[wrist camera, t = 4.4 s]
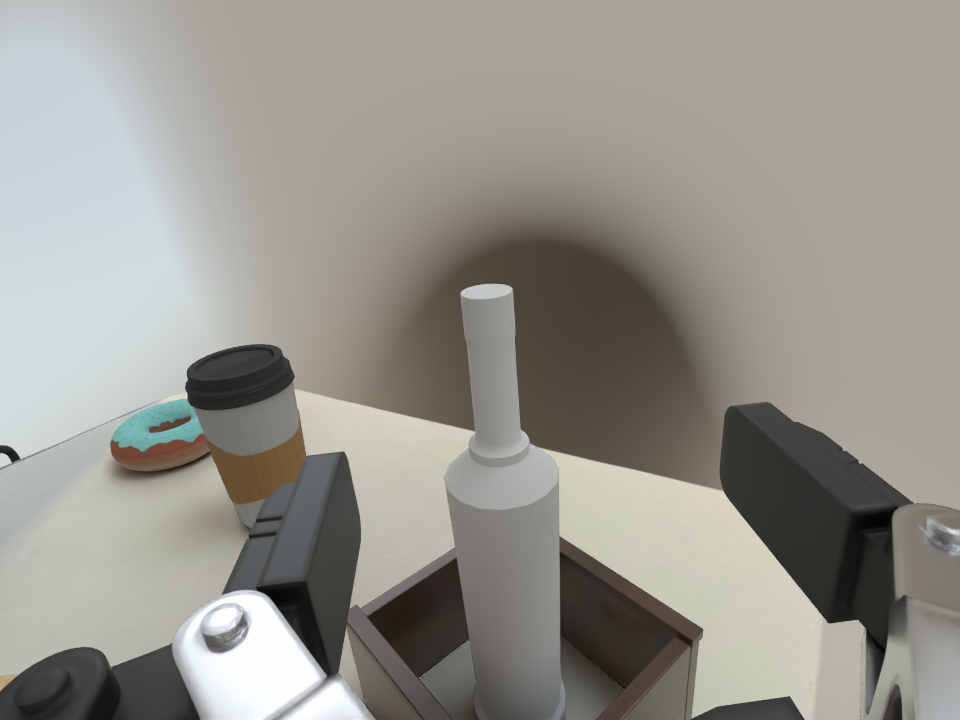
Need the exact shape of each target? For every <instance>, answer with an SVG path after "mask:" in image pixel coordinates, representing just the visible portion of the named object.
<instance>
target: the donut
mask: <svg viewBox="0 0 960 720" xmlns="http://www.w3.org/2000/svg"><path fill="white" fill-rule="evenodd" d="M205 438H206V437H205V434H204V432H203V430H202V427H201V425H200V422H199V420H198V418H197V415H196V413H195V410H194V408H193V407H192V406H191V405H190V404H189V402H188V399H180V400H175V401H171V402H167V403H163V404H160V405H157V406H154V407H151V408H149V409H146V410H144V411H142V412H140V413H138V414H136V415H134V416H133V417H131V418H130V419H128V420H127V421H125V422H124V423H123V424H122V425H121V426H119V427H118V428H117V429H116V431H115V432H114V435H113V437H112V441H111V443H110V445H111V453H112V456H113V457H114V458H115V460H116V461H117V462H118V463H120V464H121V466H123V467H125V468H127V469H130V470H135V471H160V470H165V469H170V468H174V467H178V466H181V465H184V464H187V463H189V462H191V461H194V460H196V459H198V458H200V457H202V456H203V455H205V454H207V453H208V452H209V451H210V450H209V447H208V445H207V442H206V440H205Z"/></svg>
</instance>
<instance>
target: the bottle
mask: <svg viewBox="0 0 960 720" xmlns="http://www.w3.org/2000/svg"><path fill="white" fill-rule="evenodd" d="M460 294H461V304H462V314H463V324H464V334H465V339H466V341H467V350H468V360H469V370H470V381H471V391H472V402H473V411H474V422H475V434H474V435H473V436H472V437H471V439H470V441H469V448H468V449H467V450H466V451H464V452H463V453H462V454H461V455H460V456H459V457H457V458H456V459H455V460H454V461H453V462H452V463H451V464H450V465H449V467H448V469H447V472H446V474H445V477H444V478H445V485H446V491H447V498H448V504H449V510H450V517H451V523H452V530H453V536H454V543H455V549H456V556H457V562H458V568H459V575H460V581H461V588H462V594H463V601H464V607H465V613H466V620H467V626H468V633H469V639H470V646H471V652H472V658H473V665H474V671H475V678H476V686H475V690H474V695H473V699H474V704H475V709H476V714H477V719H478V720H565V706H566V690H565V687H564V684H563V682H562V679H561V670H560V554H559V468H558V467H557V465H556V463H555V462H554V460H553V458H552V457H551V456H550V455H548V454H547V453H545V452H543V451H542V450H540V449H539V448H537V447H535V446H534V445H532V444H530V443H529V438H528V436H527V434H526V433H525V432H523V431H521V430H520V415H519V400H518V385H517V370H516V357H515V340H514V337H515V319H514V303H513V289H512V288H511V287H510V286H506V285H502V284H484V285H477V286H473V287H469V288H467V289H465V290H463V291H462V292H461V293H460Z"/></svg>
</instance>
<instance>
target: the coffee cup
mask: <svg viewBox="0 0 960 720" xmlns="http://www.w3.org/2000/svg"><path fill="white" fill-rule="evenodd" d="M187 378H188V381H187V382H186V386H185V389H186V392H187V393H188V402H189V404H190V405H191V406H192V407H193V408H194V410H195V413H196V415H197V418H198V420H199V422H200V425H201V427H202V430H203V432H204V434H205V437H206V438H205V440H206V442H207V445H208V447H209V450H210V452H211V454H212V457H213V459H214V461H215V464H216V466H217V469H218V471H219V473H220V476H221V478H222V480H223V483H224V485H225V488H226V490H227V492H228V495H229V497H230V499H231V500H232V502H233V504H234V506H235V509H236V511H237V514H238V516H239V518H240V520H241V522H242V523H243V524H245V525H246V526H247V527H248V528H250V529H252V526H253V524H254V523H256V518H257V515H258V513H259V511H260V509H261V506H262V504H263V502H264V500H265V499H266V498H267V497H268V496H269V495H270V494H271V493H272V492H274V491H275V490H276V489H277V488H278V487H279V486H280V485H281V484H282V483H289V482H296V481H297V478H298V476H299V473H300V471H301V468H302V465H303V463H304V460H305V458H306V452H305V445H304V439H303V433H302V427H301V421H300V416H299V411H298V409H297V403H296V397H295V391H294V385H293V379H294V373H293V371H292V369H291V366H290V362H289V360H288V359H286V358H285V357H284V356H283V354H282V351H281V349H279V348H278V347H276V346H273V345H265V344H256V345H245V346H239V347H234V348H229V349H226V350H222V351H218V352H216V353H213V354H211V355H208V356H206V357H204V358H202V359H199V360H198V361H196V362H195V363H193V364H192V365H191V366H190V367H189V368H188V370H187Z"/></svg>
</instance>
